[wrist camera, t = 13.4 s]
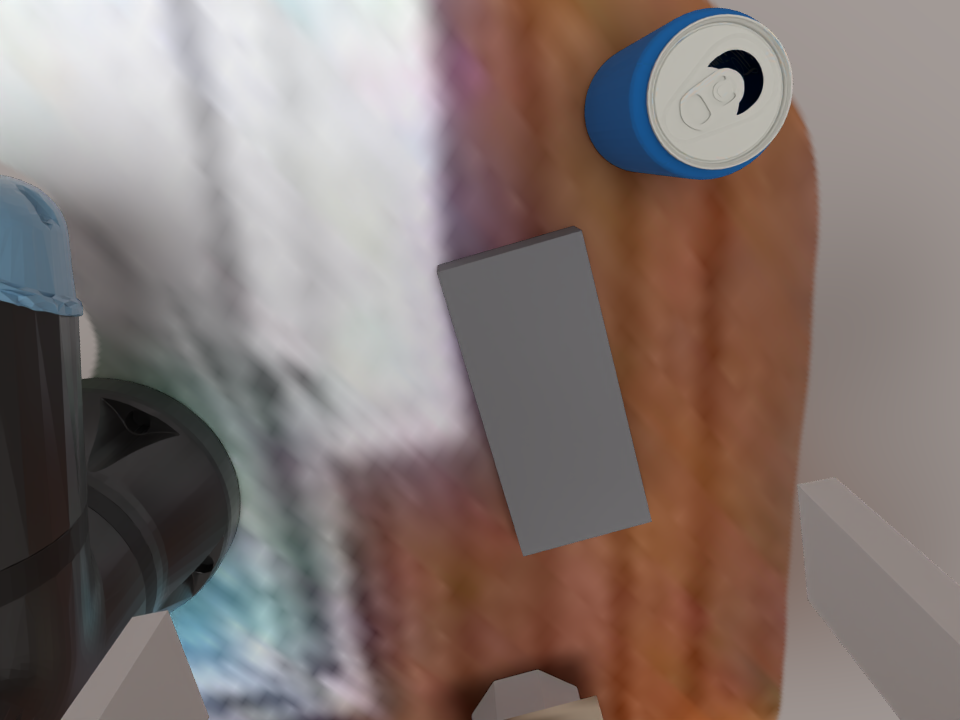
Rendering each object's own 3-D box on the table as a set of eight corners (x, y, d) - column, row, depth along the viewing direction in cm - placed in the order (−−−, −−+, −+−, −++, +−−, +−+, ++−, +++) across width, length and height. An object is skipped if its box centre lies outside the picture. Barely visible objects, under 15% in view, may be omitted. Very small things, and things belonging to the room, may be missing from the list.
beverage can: (722, 123, 39) (834, 112, 28) (624, 195, 40) (693, 214, 29) (659, 18, 38) (750, -39, 26) (558, 96, 39) (603, 74, 27)
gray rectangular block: (519, 535, 46) (523, 556, 44) (437, 265, 41) (437, 272, 39) (641, 501, 46) (651, 521, 43) (574, 225, 41) (581, 230, 38)
